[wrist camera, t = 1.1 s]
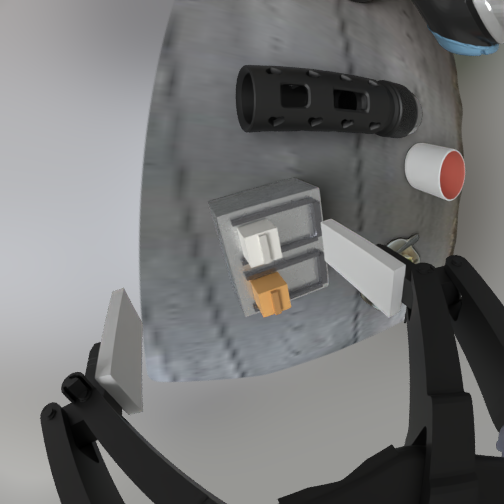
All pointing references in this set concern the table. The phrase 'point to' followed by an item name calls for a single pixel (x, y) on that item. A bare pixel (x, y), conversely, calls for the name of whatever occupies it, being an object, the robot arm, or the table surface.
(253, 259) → the toggle white
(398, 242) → the salad plate
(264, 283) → the toggle orange
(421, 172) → the cup
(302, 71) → the muzzle brake
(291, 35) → the table surface
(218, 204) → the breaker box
